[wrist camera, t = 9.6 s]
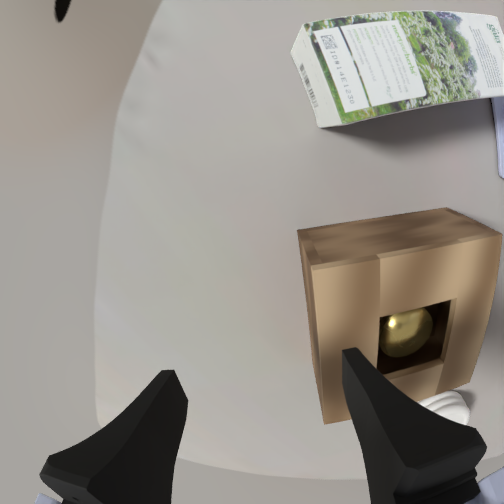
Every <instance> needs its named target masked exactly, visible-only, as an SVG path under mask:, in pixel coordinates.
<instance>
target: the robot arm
mask: <svg viewBox="0 0 504 504" xmlns="http://www.w3.org/2000/svg"><path fill="white" fill-rule="evenodd" d="M491 101H492V107H493V114H494V121H495V129H496V139H497V151H498V170H499V176H500V177H501V178H504V96H502V97H491ZM342 385H343V390H344V395H345V399H346V404H347V407H348V410H349V412H350V415H351V418H352V421H353V424H354V427H355V430H356V433H357V436H358V439H359V442H360V445H361V449H362V453H363V458H364V463H365V468H366V474H367V480H368V485H369V492H370V499H371V504H504V467H502V468H500V469H499V470H497V471H495V472H494V473H492V474H490V475H488V476H487V477H485V478H483V479H482V480H481V481H479V482H478V483H477V481H476V479H475V477H476V476H477V472H476V470H475V467H476V465H477V464H478V463H479V461H480V460H481V459H482V457H483V456H484V454H485V452H486V449H487V446H486V444H485V442H484V440H483V438H482V437H481V435H480V434H479V432H478V431H477V430H476V428H473V427H470V426H467V425H464V424H460V423H457V422H455V421H452V420H450V419H447V418H445V417H443V416H440V415H439V414H437V413H435V412H433V411H431V410H429V409H427V408H425V407H424V406H422V405H420V404H419V403H417V402H416V401H414V400H413V399H411V398H410V397H408V396H407V395H406V394H404V393H403V392H402V391H400V390H399V389H398V388H397V387H396V386H394V385H393V384H392V383H391V382H390V381H389V380H388V379H386V378H385V377H384V376H383V375H382V374H381V373H380V372H379V371H378V370H377V369H376V368H375V367H374V366H373V365H372V364H371V363H370V361H369V360H368V359H367V358H366V357H365V356H364V355H363V354H362V352H361V351H360V350H359V349H358V348H357V347H354V348H349V349H344V350H342ZM187 408H188V399H187V397H186V395H185V393H184V390H183V388H182V386H181V384H180V382H179V380H178V377H177V375H176V373H175V371H174V370H162V371H161V372H160V373H159V374H158V375H157V376H156V377H155V378H154V379H153V380H152V381H151V382H150V384H149V385H148V386H147V387H146V388H145V389H144V390H143V391H142V392H141V393H140V395H139V396H138V397H137V398H136V399H135V400H134V401H133V402H132V403H131V404H130V405H129V406H128V407H127V408H126V409H125V410H124V411H123V412H122V413H121V414H120V415H118V416H117V417H116V418H115V419H114V420H113V421H111V422H110V423H109V424H107V425H106V426H105V427H104V428H102V429H101V430H99V431H98V432H96V433H95V434H93V435H92V436H90V437H89V438H87V439H85V440H84V441H82V442H80V443H78V444H76V445H74V446H72V447H70V448H68V449H65V450H63V451H60V452H58V453H55V454H53V455H50V456H49V457H48V459H47V461H46V463H45V465H44V467H43V469H42V471H41V473H40V478H41V480H42V481H43V482H44V483H45V484H46V485H47V486H48V487H50V488H51V489H52V490H53V491H54V492H56V493H57V494H58V495H59V496H61V497H62V498H63V502H62V503H61V502H59V501H57V500H55V499H53V498H50V497H48V496H46V495H44V494H41V493H39V494H38V497H37V499H36V501H35V503H34V504H171V494H172V482H173V473H174V465H175V461H176V457H177V453H178V449H179V445H180V441H181V438H182V434H183V430H184V426H185V422H186V416H187Z"/></svg>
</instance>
